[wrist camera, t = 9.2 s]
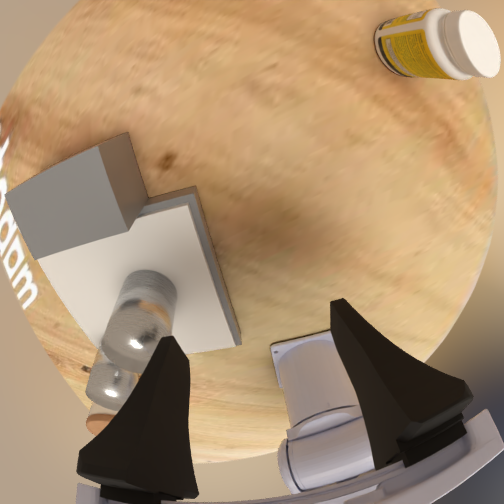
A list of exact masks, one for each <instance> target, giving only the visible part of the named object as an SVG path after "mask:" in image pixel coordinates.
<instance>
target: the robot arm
mask: <svg viewBox="0 0 504 504" xmlns="http://www.w3.org/2000/svg"><path fill="white" fill-rule="evenodd" d="M270 349H271V353H272V358H273V362H274V366H275V371H276V375H277V379H278V383H279V387H280V388H283V392H284V397H285V402H286V406H287V411H288V416H289V421H290V426H291V429H288V430H286V431H287V437H288V438H287V439H284V440H283V441H282V442H281V445H280V446H279V448H278V465H279V470H280V473H281V476H282V478H283V481H284V483H285V484H286V486H287V487H288V488H289V490H290V492H291V494H292V495H287V496H281V497H274V498H266V499H259V500H248V501H235V502H209V503H208V502H205V503H204V502H177V501H176V500H183V499H184V498H186V499H195V498H196V497H197V496H198V495H199V492H198V488H197V483H196V479H195V475H194V469H193V463H192V457H191V449H190V440H189V429H188V417H189V398H190V365H189V360H188V358H187V357H186V355H185V353H184V352H183V350H182V349H181V347H180V345H179V344H178V342H177V341H176V339H175V337H174V336H166V337H161V339H160V341H159V343H158V345H157V347H156V349H155V350H154V352H153V354H152V356H151V358H150V360H149V362H148V364H147V366H146V368H145V370H144V372H143V374H142V375H141V377H140V379H139V381H138V382H137V384H136V386H135V388H134V389H133V391H132V393H131V394H130V396H129V397H128V399H127V400H126V402H125V403H124V405H123V406H122V407H121V409H120V410H119V411H118V413H117V414H116V415H115V416H114V417H113V419H112V420H111V421H110V422H109V424H108V425H107V426H106V427H105V428H104V429H103V430H102V431H101V432H100V433H99V434H98V435H97V436H96V437H95V438H94V439H93V440H92V441H90V442H89V443H88V444H87V445H86V446H84V447H83V448H82V449H81V450H80V451H79V457H78V464H77V473H78V475H80V476H82V477H84V478H86V479H89V480H91V481H93V482H96V483H98V484H101V489H100V488H96V487H93V486H89V485H85V484H82V483H78V484H77V495H76V504H431V503H433V502H434V501H436V500H438V499H439V498H441V497H442V496H444V495H445V494H447V493H448V492H450V491H451V490H453V489H454V488H455V487H457V486H458V485H460V484H461V483H463V482H464V481H465V480H467V479H468V478H469V477H471V476H472V475H473V474H475V473H476V472H477V471H478V470H480V469H481V468H482V467H483V466H485V465H486V464H487V463H488V462H490V461H491V460H492V459H493V458H495V457H496V456H497V455H498V454H499V453H500V452H502V451H503V450H504V444H503V441H502V439H501V437H500V435H499V432H498V430H497V428H496V426H495V424H494V422H493V419H492V418H491V415H490V413H489V411H488V409H485V410H483V411H482V412H481V413H479V414H478V415H477V416H475V417H474V418H472V419H471V420H469V421H468V422H467V423H465V424H464V425H463V423H462V420H463V419H464V417H463V415H462V413H461V412H462V411H463V410H464V409H465V408H466V407H467V406H468V405H469V404H470V402H471V401H472V400H473V397H474V396H473V394H472V392H471V390H470V389H469V387H468V385H467V384H466V383H465V381H464V380H461V379H458V378H456V377H453V376H450V375H447V374H445V373H443V372H440V371H438V370H436V369H434V368H432V367H430V366H428V365H427V364H425V363H423V362H421V361H419V360H417V359H416V358H414V357H412V356H411V355H409V354H408V353H406V352H405V351H403V350H402V349H400V348H399V347H397V346H396V345H395V344H393V343H392V342H391V341H389V340H388V339H387V338H386V337H384V336H383V335H382V334H381V333H380V332H378V331H377V330H376V329H375V328H374V327H373V326H372V325H371V324H369V323H368V322H367V321H366V320H365V319H364V318H363V317H362V316H361V315H360V314H359V313H358V312H357V311H356V310H355V309H354V308H353V307H352V306H351V305H350V304H349V303H348V302H347V301H346V300H345V299H344V298H342V299H338V300H335V301H331V302H330V331H327V332H323V333H319V334H315V335H311V336H307V337H303V338H299V339H295V340H290V341H286V342H281V343H277V344H273V345H271V347H270Z"/></svg>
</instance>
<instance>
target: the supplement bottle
mask: <svg viewBox="0 0 504 504" xmlns="http://www.w3.org/2000/svg"><path fill="white" fill-rule="evenodd" d="M375 46H376V50H377V53H378V55H379V57H380V59H381V60H382V62H383V63H384V64H385V65H386V66H387V67H388V68H389V69H390V70H391V71H393V72H394V73H396V74H398V75H401V76H405V77H424V78H441V79H453V80H467V79H469V78H471V77H472V76H475V77H486V78H491V77H494V76H495V75H496V74H497V73H498V71H499V68H500V51H499V47H498V43H497V40H496V38H495V36H494V34H493V32H492V30H491V28H490V27H489V25H488V24H487V23H486V21H485V20H484V19H483V18H481V17H480V16H479V15H478V14H476V13H475V12H473V11H469V10H463V11H452V12H451V11H449V10H446V9H442V8H435V9H430V10H426V11H421V12H417V13H413V14H409V15H405V16H402V17H398V18H395V19H391V20H388V21H385V22H383V23H382V24H381V25H380V26H379V27H378V28H377V30H376V34H375Z"/></svg>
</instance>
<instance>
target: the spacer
mask: <svg viewBox="0 0 504 504" xmlns="http://www.w3.org/2000/svg"><path fill="white" fill-rule="evenodd" d="M176 303H177V290H176V288H175V286H174V284H173V283H172V282H171V280H170V279H168V278H167V277H166V276H164V275H163V274H161V273H159V272H156V271H153V270H138V271H134V272H132V273H131V274H129V275H128V276H127V277H126V279H125V281H124V283H123V285H122V288H121V290H120V293H119V295H118V298H117V300H116V303H115V306H114V308H113V311H112V313H111V316H110V319H109V322H108V325H107V327H106V330H105V333H104V336H103V339H102V343H101V347H102V350H103V352H104V354H105V355H106V357H107V358H108V359H109V360H110V361H111V362H113V363H114V364H115V365H117V366H119V367H120V368H122V369H125V370H127V371H130V372H134V373H140V374H143V372H144V370H145V368H146V366H147V364H148V362H149V360H150V358H151V356H152V354H153V352H154V350H155V349H156V347H157V345H158V343H159V341H160V339H161V337H166V336H172V330H173V323H174V316H175V309H176Z"/></svg>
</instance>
